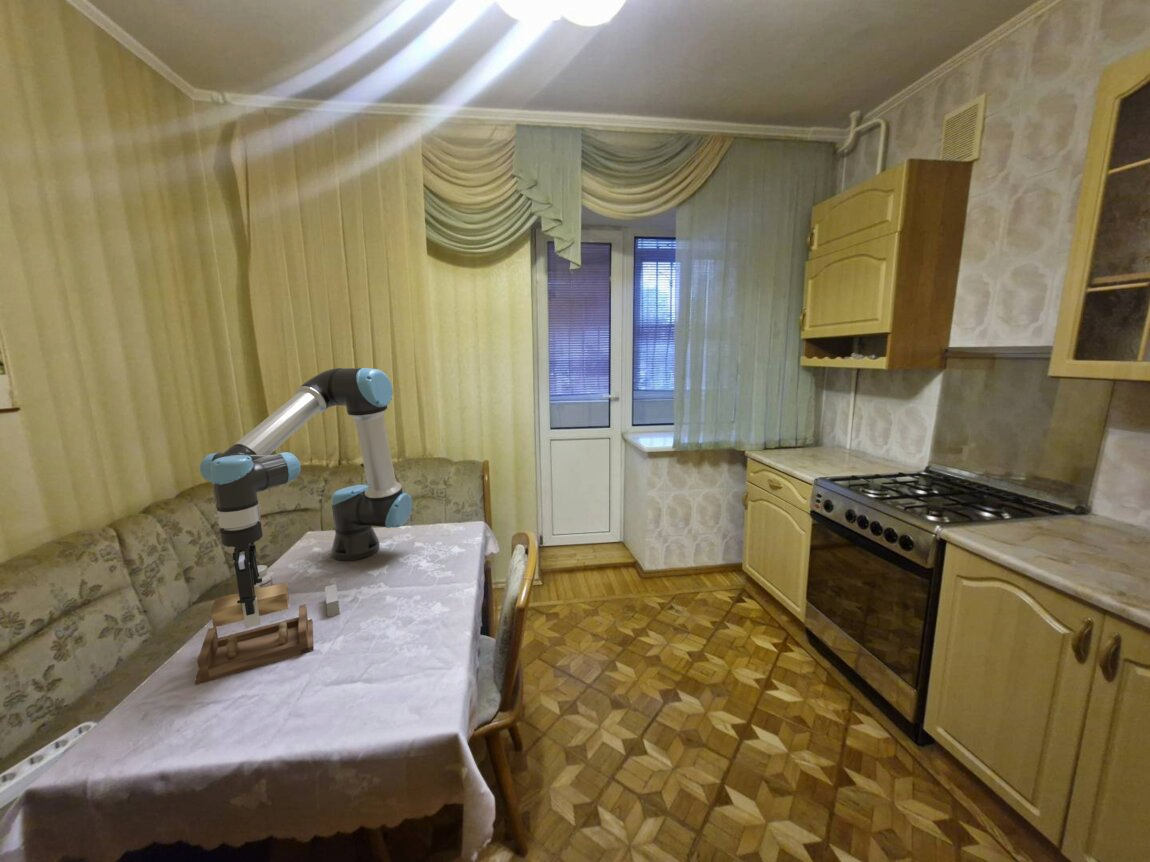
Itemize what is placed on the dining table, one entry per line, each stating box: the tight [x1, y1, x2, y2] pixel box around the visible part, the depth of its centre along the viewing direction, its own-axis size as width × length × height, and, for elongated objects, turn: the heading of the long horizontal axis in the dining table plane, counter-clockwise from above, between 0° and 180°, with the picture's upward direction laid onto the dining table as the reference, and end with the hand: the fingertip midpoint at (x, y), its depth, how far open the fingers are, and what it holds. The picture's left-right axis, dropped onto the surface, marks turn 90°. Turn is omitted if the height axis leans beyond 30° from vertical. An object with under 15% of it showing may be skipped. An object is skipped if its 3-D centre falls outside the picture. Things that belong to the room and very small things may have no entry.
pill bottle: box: [256, 564, 274, 588], centre depth 127 cm, size 6×6×11 cm
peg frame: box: [194, 604, 314, 686], centre depth 108 cm, size 13×22×6 cm, turn 120°
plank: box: [210, 582, 290, 628], centre depth 106 cm, size 14×6×4 cm, turn 120°
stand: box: [324, 583, 341, 618], centre depth 126 cm, size 10×3×4 cm, turn 30°
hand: (254, 617), depth 107 cm, fingers closed on plank, 6 cm apart
